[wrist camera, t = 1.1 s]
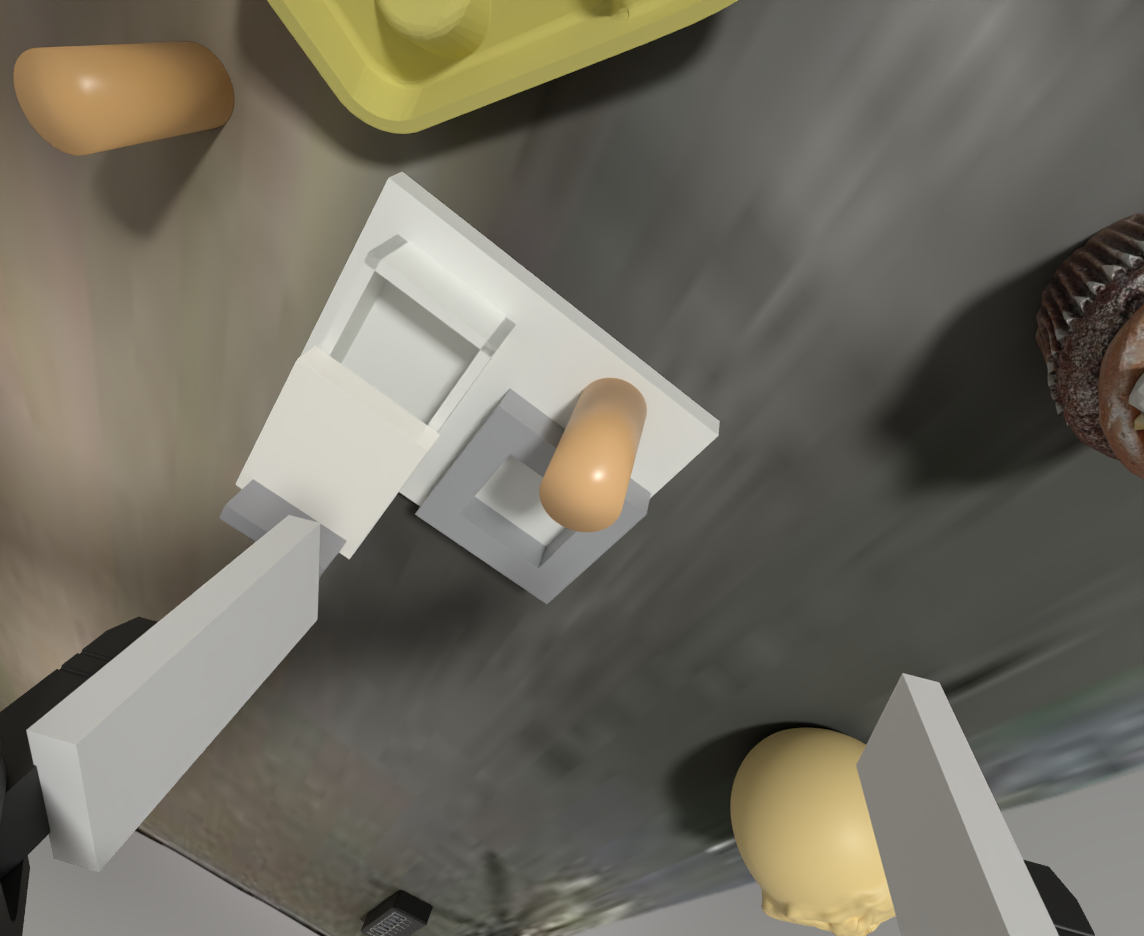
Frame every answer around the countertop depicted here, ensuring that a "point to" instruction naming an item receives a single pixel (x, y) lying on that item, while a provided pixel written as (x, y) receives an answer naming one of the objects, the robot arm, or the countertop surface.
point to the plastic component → (465, 48)
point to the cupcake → (1099, 341)
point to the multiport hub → (397, 916)
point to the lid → (328, 457)
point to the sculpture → (810, 832)
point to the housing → (504, 394)
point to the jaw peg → (121, 93)
